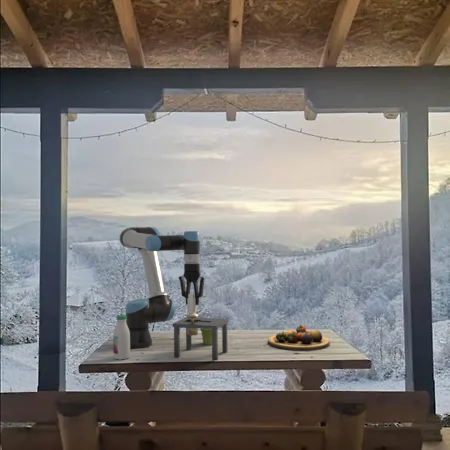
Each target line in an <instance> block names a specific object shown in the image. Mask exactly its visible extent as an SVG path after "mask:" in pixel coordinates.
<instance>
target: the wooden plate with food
mask: <svg viewBox="0 0 450 450" xmlns="http://www.w3.org/2000/svg"><path fill="white" fill-rule="evenodd" d="M267 342H268V344H269V345H270V346H272V347H275V348H278V349H283V350H287V351H288V350H289V351H290V350H291V351H316V349H317V350H321V349H325V348H327V347H328V346H329V345H330V340H329V339H328V338H327V337H326V336H323V335H322V333H321V331H320V330H318V329H314V331H312V330H307V329H306V326H305V324H301V325H299V326H297V327H296V329H295V330H292V329H289V330H286V331H282V332H278V333H277V334H274V335H272V336H270V337H269V338H268V339H267Z"/></svg>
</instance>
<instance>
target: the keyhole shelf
mask: <svg viewBox="0 0 450 450" xmlns="http://www.w3.org/2000/svg"><path fill="white" fill-rule="evenodd" d="M229 321H230V320H229V318H214V317H199V316H198V317H195V318H194V322H191V318H188V317H187V316H186V317H184V318H182V319H179V320H177V321H176V322H173V323H172V328H173V347H174V348H173V357H174V358H176V359H179V358H180V357H181V349H180V348H181V345H180V344H181V343H180V342H181V340H180V338H181V337H180V332H181V331H180V330H181V329H180V328H185V336H186V337H185V338H186V339H185V342H186V343H185V346H186V347H185V348H186V349H185V350H186V351H191V350H192V335H187V328H198V329H200V328H201V329H212V344H211V347H212V348H211V351H212V353H211V354H212V355H211V356H212V358H211V359H212V360H211V361H213V360H217V359H218V360H219V355H218V354H219V353H218V352H219V351H218V350H219V347H218V346H219V345H218V338H219V336H218V333H219V331H218V329H220V328H222V329H221V338H222V339H221V341H222V350H221V351H222V353H223V354H227V353H229V352H228V350H229V349H228V323H229ZM201 329H200V330H201ZM218 360H217V361H218Z"/></svg>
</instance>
